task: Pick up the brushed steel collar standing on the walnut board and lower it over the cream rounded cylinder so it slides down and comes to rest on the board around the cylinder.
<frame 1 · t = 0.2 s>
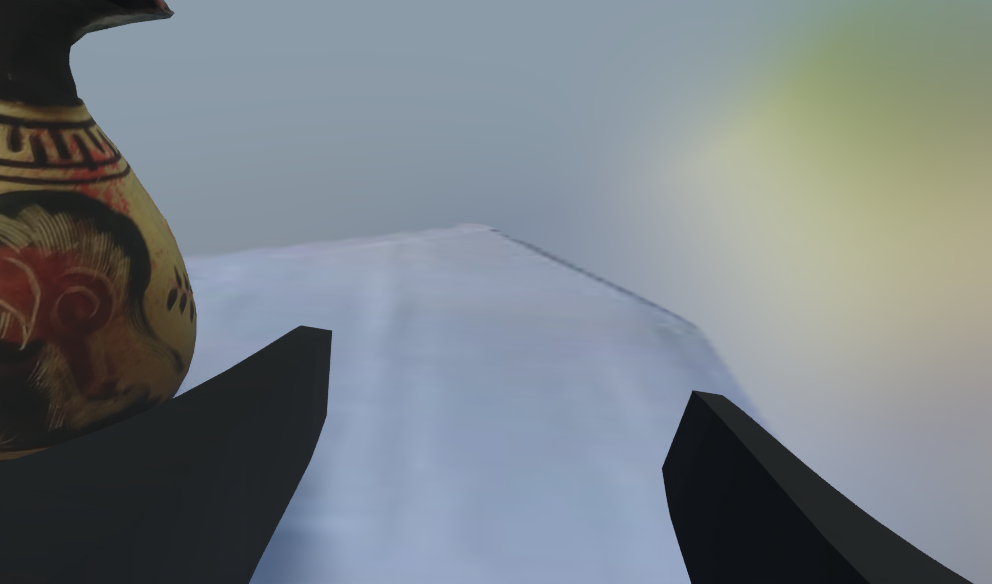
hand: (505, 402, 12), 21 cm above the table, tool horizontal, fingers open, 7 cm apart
ceramic jug: (32, 442, 35), on the table
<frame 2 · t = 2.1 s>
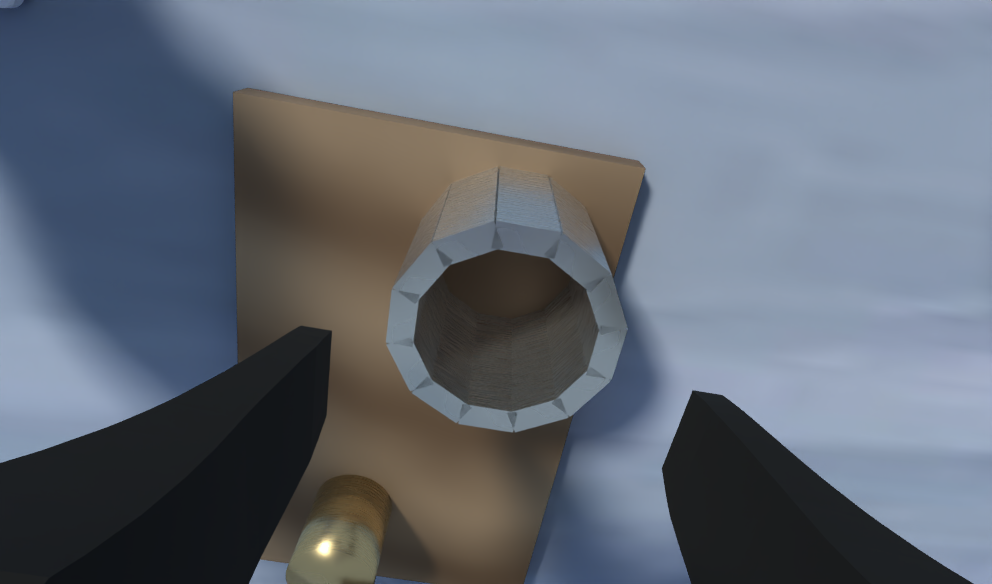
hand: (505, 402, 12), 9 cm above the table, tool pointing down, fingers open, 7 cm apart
steel collar: (506, 256, 18), point 1 cm above the table, touching walnut board
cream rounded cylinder: (360, 484, 24), resting on walnut board
walnut board: (411, 381, 22), on the table
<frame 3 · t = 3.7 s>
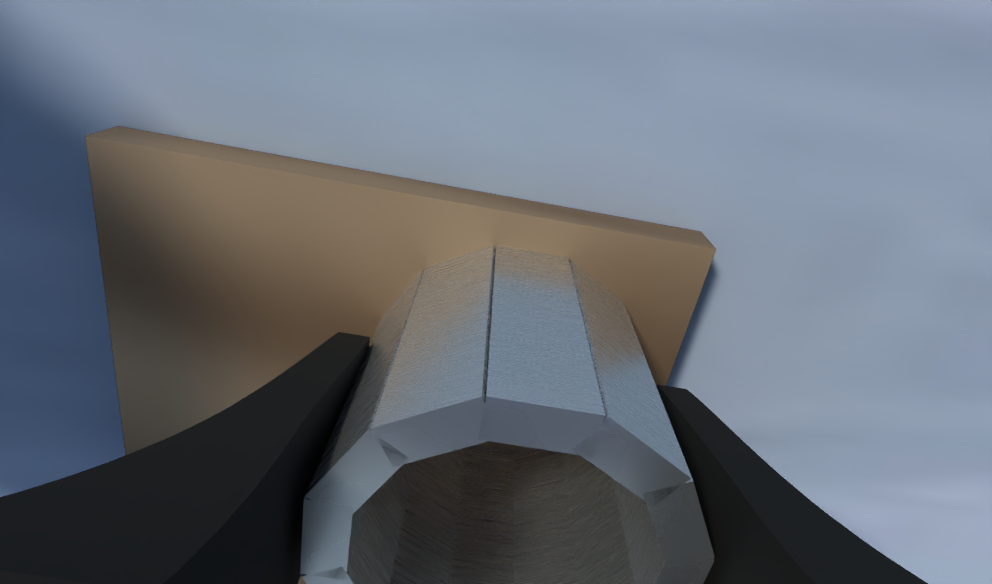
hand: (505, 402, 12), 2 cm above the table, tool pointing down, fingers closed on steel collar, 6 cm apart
steel collar: (506, 369, 13), point 1 cm above the table, touching gripper, walnut board
walnut board: (376, 515, 16), on the table
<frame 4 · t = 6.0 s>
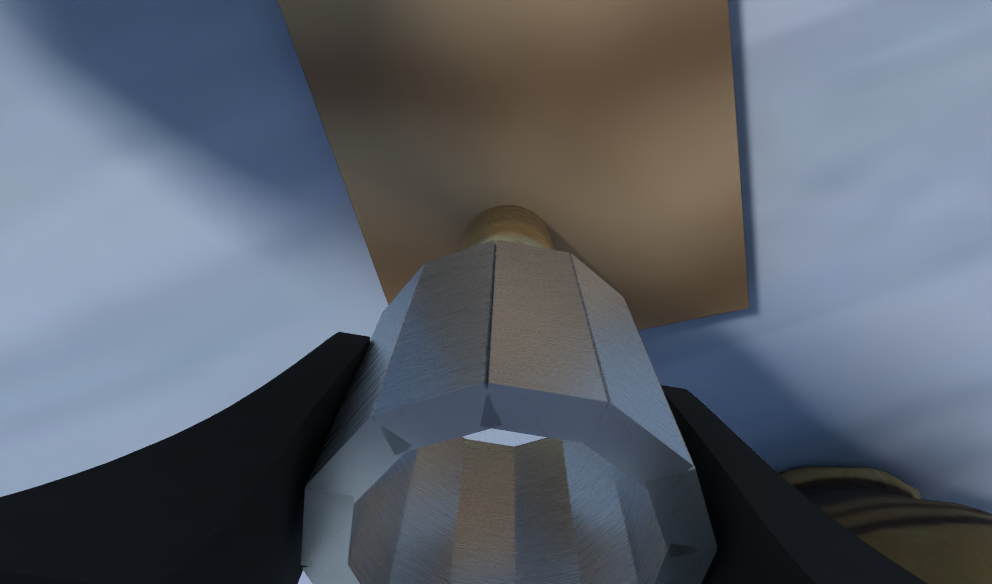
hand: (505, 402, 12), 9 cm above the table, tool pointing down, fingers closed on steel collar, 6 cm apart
steel collar: (506, 365, 13), point 8 cm above the table, touching gripper
ceramic jug: (824, 534, 26), on the table
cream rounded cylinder: (508, 238, 20), resting on walnut board
walnut board: (514, 60, 17), on the table
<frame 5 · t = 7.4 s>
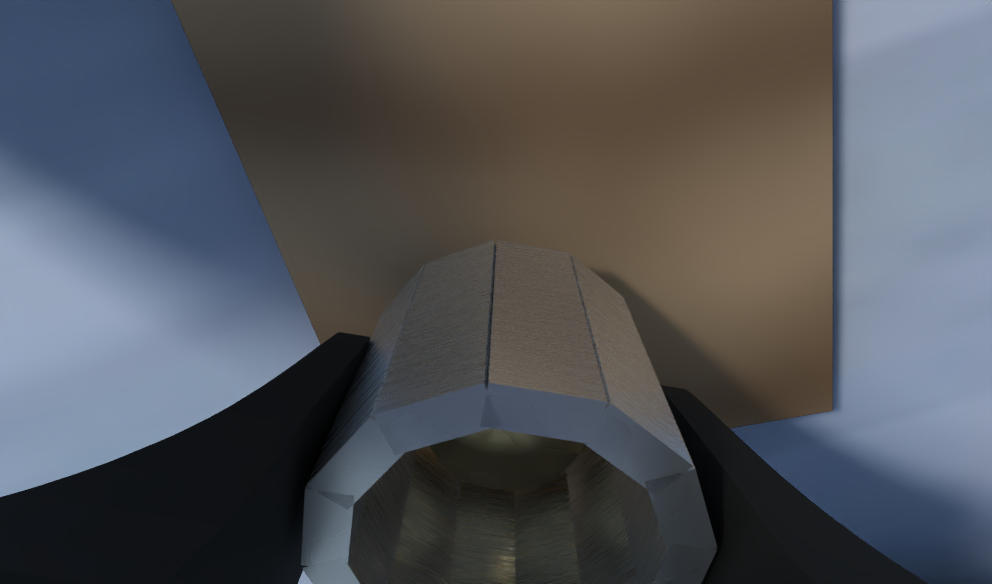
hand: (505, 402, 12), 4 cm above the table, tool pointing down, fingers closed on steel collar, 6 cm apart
steel collar: (506, 365, 13), point 2 cm above the table, touching gripper
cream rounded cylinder: (507, 315, 15), resting on walnut board
walnut board: (515, 79, 12), on the table
when the fingers open (4 cm above the table, at t = 8.3 s): steel collar drops 1 cm, resting on walnut board.
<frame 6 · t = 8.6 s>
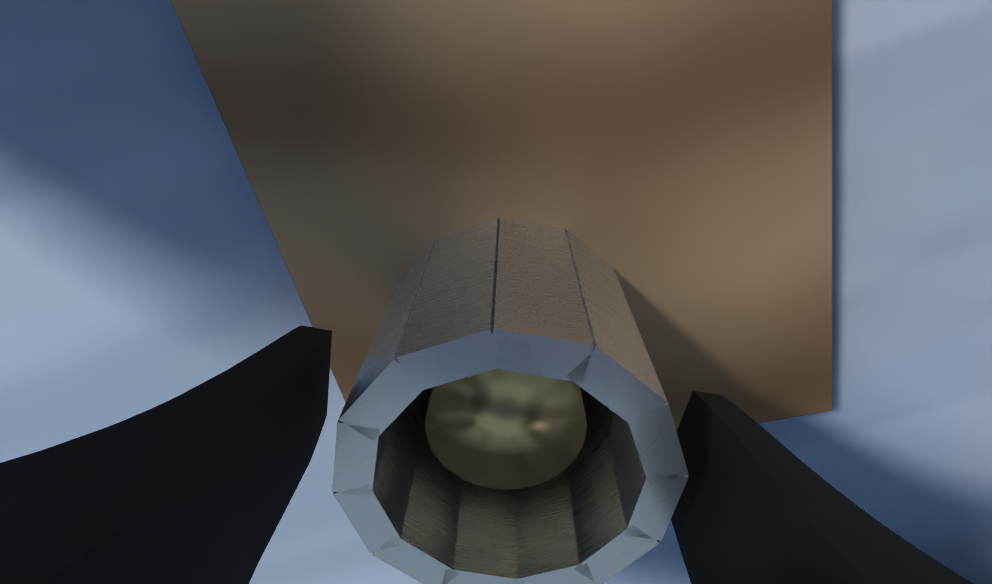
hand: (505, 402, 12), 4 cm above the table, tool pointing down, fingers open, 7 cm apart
steel collar: (508, 332, 14), point 1 cm above the table, touching walnut board
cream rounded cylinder: (507, 315, 15), resting on walnut board
walnut board: (515, 79, 12), on the table
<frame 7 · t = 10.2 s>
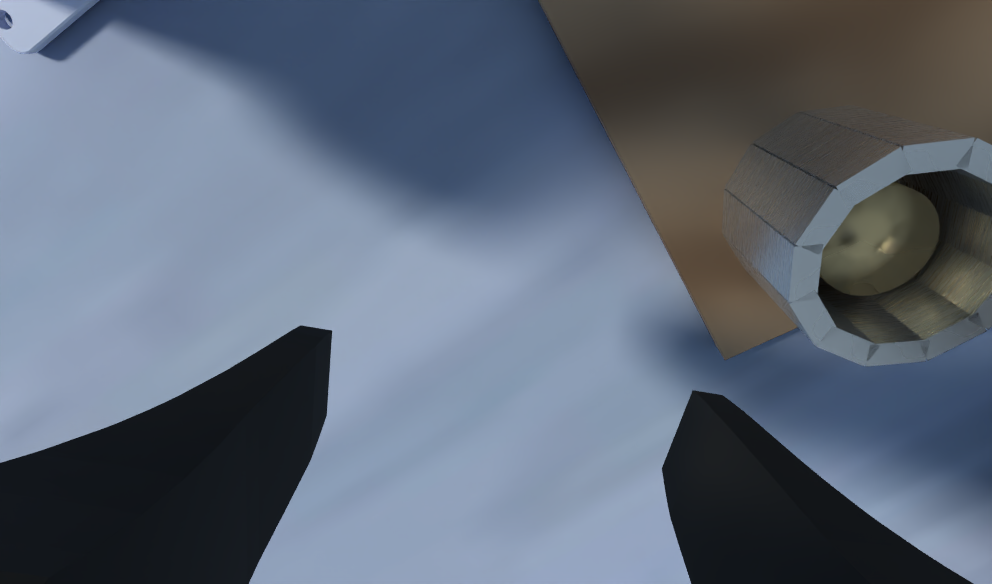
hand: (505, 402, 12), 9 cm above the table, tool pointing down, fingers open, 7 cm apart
steel collar: (814, 201, 18), point 1 cm above the table, touching walnut board
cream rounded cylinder: (799, 194, 19), resting on walnut board
walnut board: (786, 8, 17), on the table
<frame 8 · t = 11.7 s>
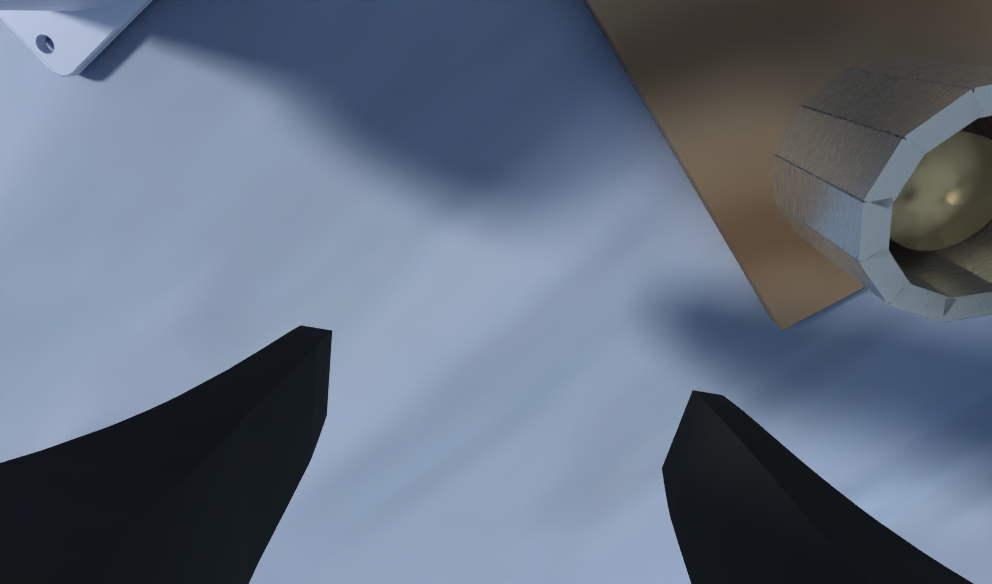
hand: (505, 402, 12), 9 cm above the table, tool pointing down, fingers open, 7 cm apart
steel collar: (867, 159, 18), point 1 cm above the table, touching walnut board
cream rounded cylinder: (849, 155, 18), resting on walnut board
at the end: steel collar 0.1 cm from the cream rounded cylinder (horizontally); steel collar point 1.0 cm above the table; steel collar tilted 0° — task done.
